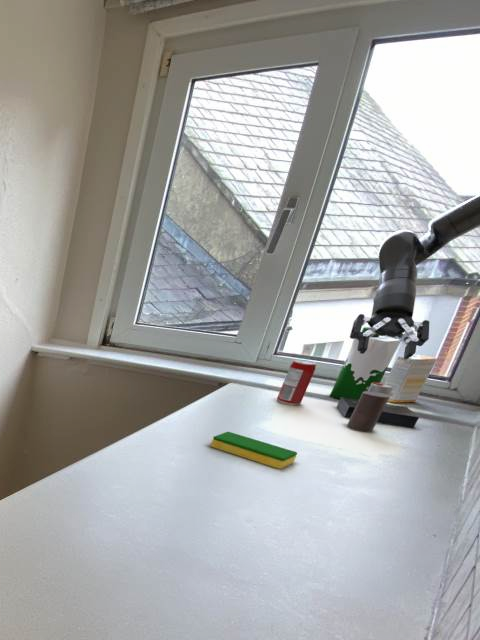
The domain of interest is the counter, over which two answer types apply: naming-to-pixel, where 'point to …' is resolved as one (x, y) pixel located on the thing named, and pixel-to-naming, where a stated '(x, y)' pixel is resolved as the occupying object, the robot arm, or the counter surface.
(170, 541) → the counter surface
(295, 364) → the soda can
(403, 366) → the supplement box
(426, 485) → the counter surface
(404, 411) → the panel
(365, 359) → the milk carton
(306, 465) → the counter surface
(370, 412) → the dark brown cylinder
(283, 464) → the dish sponge
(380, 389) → the hob knob
